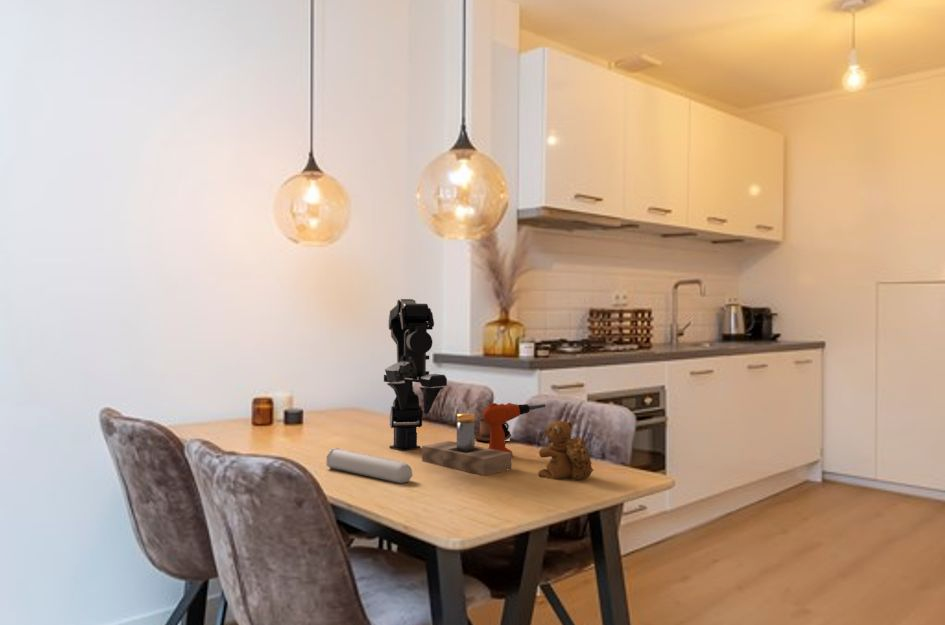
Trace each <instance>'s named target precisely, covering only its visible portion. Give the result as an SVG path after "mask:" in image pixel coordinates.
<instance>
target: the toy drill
mask: <svg viewBox="0 0 945 625" xmlns="http://www.w3.org/2000/svg"><path fill="white" fill-rule="evenodd" d="M546 406H547V405H546V404H545V403H542V404H536V405H534V404H533V405H529V404H526V403H524V404H518V403H517V404H516V403H511V402H508V403H505V404H504V403H500V404H498V403H496V402H492V403H489V405H488V406H487V407H485V409H483V411H482V419H484V421H485V422H486V423H487V424H488V425H489V427H490V442H489V446H488V447H487V448H488V449H493V450H499V451H504V452H509V453H512V455H513V451H512V450H511V449H509V448H508V447H506V440H505V438H506V437H507V436H508V435H509V434H511V431H509V428H508V429H507V425H506V424H503V423H505V422H507V423H508V422H509V421H511V420H515V419H516V418H517V417H520V416H521V415H525V414H528V413H529V412H530V411H531V410H537V409H542V408H546Z"/></svg>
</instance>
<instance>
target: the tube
mask: <svg viewBox="0 0 945 625" xmlns="http://www.w3.org/2000/svg"><path fill="white" fill-rule="evenodd" d="M326 466H327V467H328V468H329V469H332V470H338V471H344V472H347V473H351V474H356V475H360V476H365V477H370V478H375V479H379V480H384V481H387V482H388V481H389V482H392V483H397V484H405V483H408V482H409V481H410V480H411V478H412V477H413V470H412V467H411V466H410V465H409V464H408V463H407V462H405V461H399V460H396V459H395V460H394V459H389V458H385V457H380V456H373V455H370V454H365V453H360V452H355V451H350V450H345V449H341V448H339V447H335V448H330V450H329V451H328V453H327V455H326Z"/></svg>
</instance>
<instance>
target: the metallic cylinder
mask: <svg viewBox="0 0 945 625" xmlns="http://www.w3.org/2000/svg"><path fill="white" fill-rule="evenodd" d="M475 432H476V414H475V413H472V412H459V413H457V414H456V442H457V451H458V452H463V453H469V452H474V451H475V446H476V444H475V442H476V441H475V440H476V439H475Z"/></svg>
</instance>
